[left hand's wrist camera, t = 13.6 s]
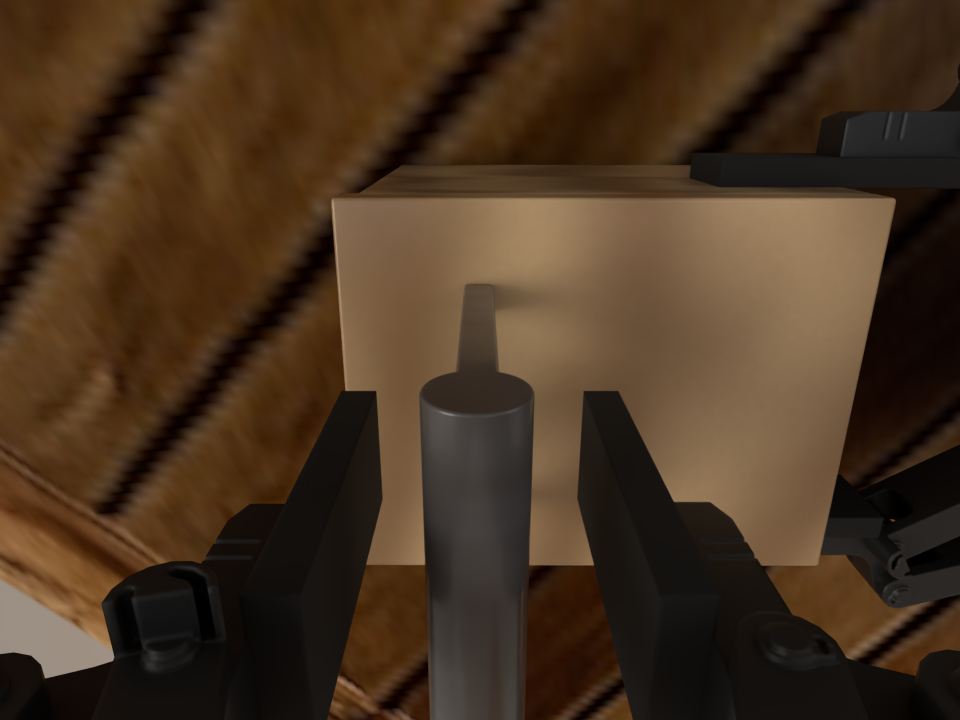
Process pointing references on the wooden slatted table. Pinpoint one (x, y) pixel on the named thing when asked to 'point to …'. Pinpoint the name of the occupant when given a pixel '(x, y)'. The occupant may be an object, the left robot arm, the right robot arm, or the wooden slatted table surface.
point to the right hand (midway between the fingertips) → (683, 352)
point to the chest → (564, 181)
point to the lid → (593, 381)
